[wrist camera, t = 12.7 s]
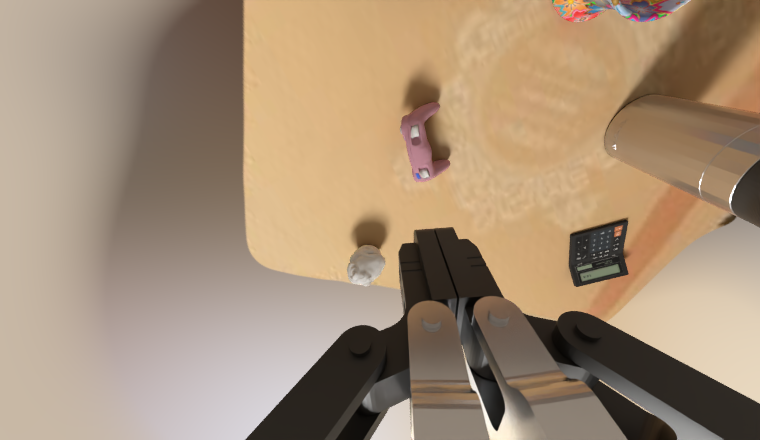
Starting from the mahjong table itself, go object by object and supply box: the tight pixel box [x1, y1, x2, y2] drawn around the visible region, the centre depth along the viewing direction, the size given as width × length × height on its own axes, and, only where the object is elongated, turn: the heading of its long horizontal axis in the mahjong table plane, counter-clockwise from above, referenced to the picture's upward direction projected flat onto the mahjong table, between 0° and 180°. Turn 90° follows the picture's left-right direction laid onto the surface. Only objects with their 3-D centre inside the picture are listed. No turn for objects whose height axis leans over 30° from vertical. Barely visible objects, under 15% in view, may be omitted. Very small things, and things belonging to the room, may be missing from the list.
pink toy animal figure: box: [400, 102, 450, 182], centre depth 38 cm, size 10×5×7 cm, turn 17°
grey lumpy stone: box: [347, 245, 385, 286], centre depth 48 cm, size 6×7×7 cm
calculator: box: [569, 220, 628, 287], centre depth 52 cm, size 9×12×3 cm
